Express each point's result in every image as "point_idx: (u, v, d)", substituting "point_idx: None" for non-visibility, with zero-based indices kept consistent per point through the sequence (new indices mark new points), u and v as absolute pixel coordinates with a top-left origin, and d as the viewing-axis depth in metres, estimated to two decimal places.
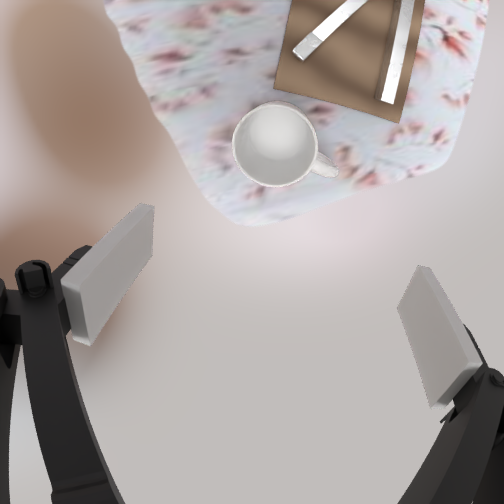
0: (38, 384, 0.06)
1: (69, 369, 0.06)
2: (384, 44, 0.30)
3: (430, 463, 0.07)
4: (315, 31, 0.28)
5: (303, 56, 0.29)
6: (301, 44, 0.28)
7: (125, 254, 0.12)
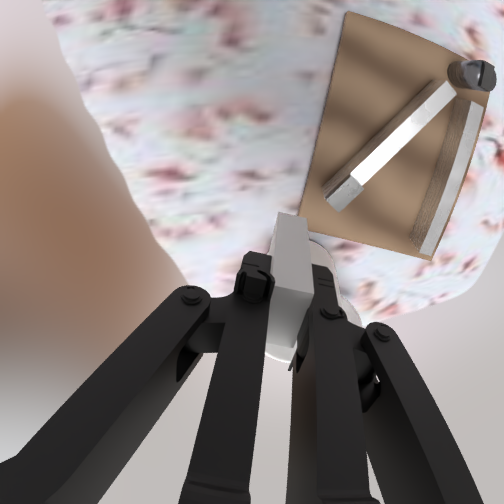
0: (223, 382, 0.07)
1: (260, 381, 0.07)
2: (431, 171, 0.28)
3: (297, 427, 0.08)
4: (355, 171, 0.26)
5: (337, 209, 0.27)
6: (336, 193, 0.26)
7: None
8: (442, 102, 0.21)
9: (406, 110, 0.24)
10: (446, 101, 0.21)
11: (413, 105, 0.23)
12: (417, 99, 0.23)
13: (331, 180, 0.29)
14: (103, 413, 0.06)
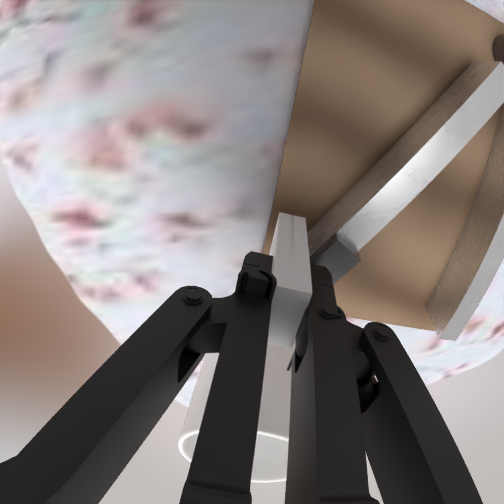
0: (224, 382, 0.07)
1: (262, 382, 0.07)
2: (466, 211, 0.17)
3: (296, 427, 0.08)
4: (345, 228, 0.15)
5: None
6: None
7: None
8: (496, 99, 0.10)
9: (434, 112, 0.13)
10: (502, 98, 0.10)
11: (446, 105, 0.12)
12: (453, 94, 0.12)
13: (308, 236, 0.18)
14: (104, 413, 0.06)
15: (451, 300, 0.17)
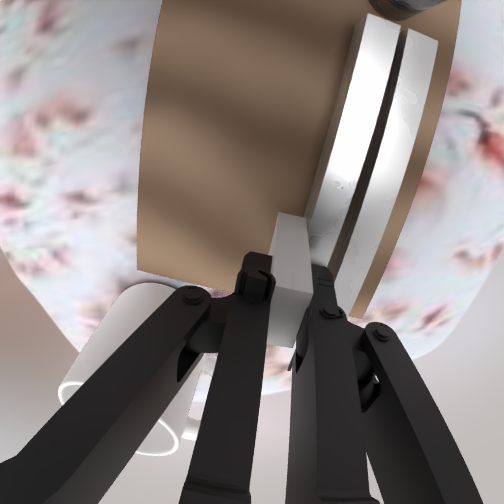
0: (223, 382, 0.07)
1: (261, 381, 0.07)
2: None
3: (296, 427, 0.08)
4: None
5: None
6: None
7: None
8: (384, 57, 0.11)
9: (337, 104, 0.14)
10: (390, 50, 0.11)
11: (343, 91, 0.13)
12: (346, 75, 0.13)
13: None
14: (104, 413, 0.06)
15: (332, 275, 0.17)
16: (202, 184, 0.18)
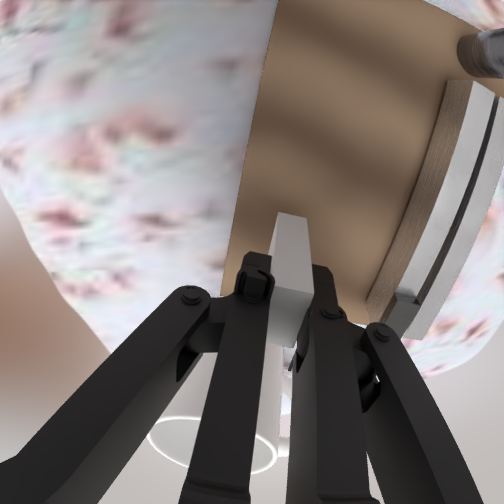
0: (223, 382, 0.07)
1: (260, 381, 0.07)
2: None
3: (297, 427, 0.08)
4: (400, 286, 0.17)
5: None
6: None
7: None
8: (482, 120, 0.12)
9: (435, 153, 0.15)
10: (486, 115, 0.12)
11: (443, 144, 0.14)
12: (444, 128, 0.14)
13: (373, 294, 0.20)
14: (103, 413, 0.06)
15: None
16: (303, 216, 0.19)
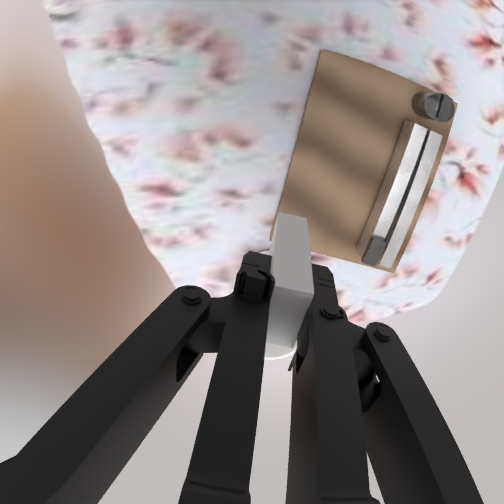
0: (223, 382, 0.07)
1: (260, 381, 0.07)
2: None
3: (297, 427, 0.08)
4: (375, 231, 0.32)
5: (373, 264, 0.33)
6: (368, 255, 0.32)
7: None
8: (419, 143, 0.27)
9: (394, 160, 0.30)
10: (421, 140, 0.27)
11: (398, 155, 0.29)
12: (399, 147, 0.29)
13: (361, 240, 0.35)
14: (103, 413, 0.06)
15: None
16: (321, 193, 0.34)
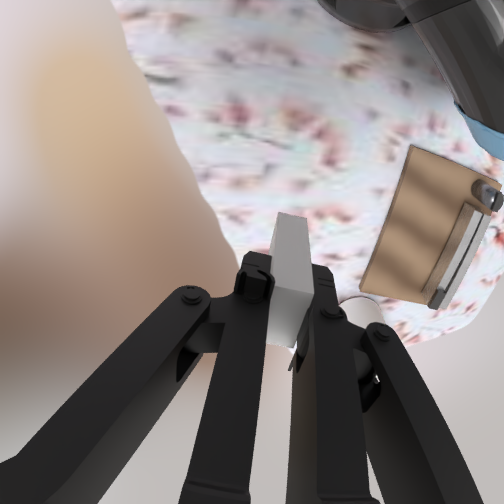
0: (223, 382, 0.07)
1: (260, 381, 0.07)
2: None
3: (297, 427, 0.08)
4: (439, 286, 0.40)
5: (436, 308, 0.41)
6: (433, 302, 0.40)
7: None
8: (475, 224, 0.35)
9: (455, 234, 0.38)
10: (477, 222, 0.35)
11: (459, 231, 0.37)
12: (460, 224, 0.37)
13: (426, 289, 0.43)
14: (103, 413, 0.06)
15: None
16: (401, 257, 0.42)
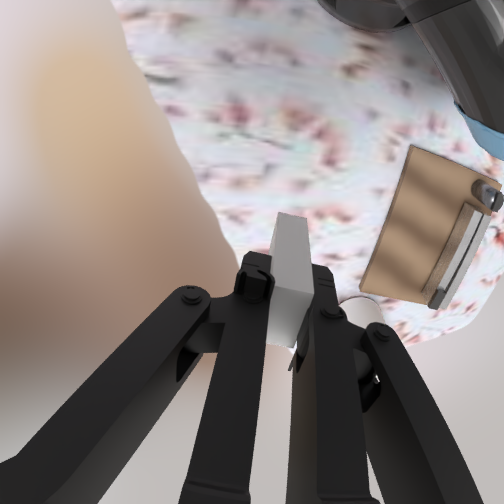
0: (223, 382, 0.07)
1: (260, 381, 0.07)
2: None
3: (297, 427, 0.08)
4: (439, 286, 0.40)
5: (436, 308, 0.41)
6: (433, 302, 0.40)
7: None
8: (475, 224, 0.35)
9: (455, 234, 0.38)
10: (477, 222, 0.35)
11: (459, 231, 0.37)
12: (460, 224, 0.37)
13: (426, 289, 0.43)
14: (103, 413, 0.06)
15: None
16: (401, 257, 0.42)
